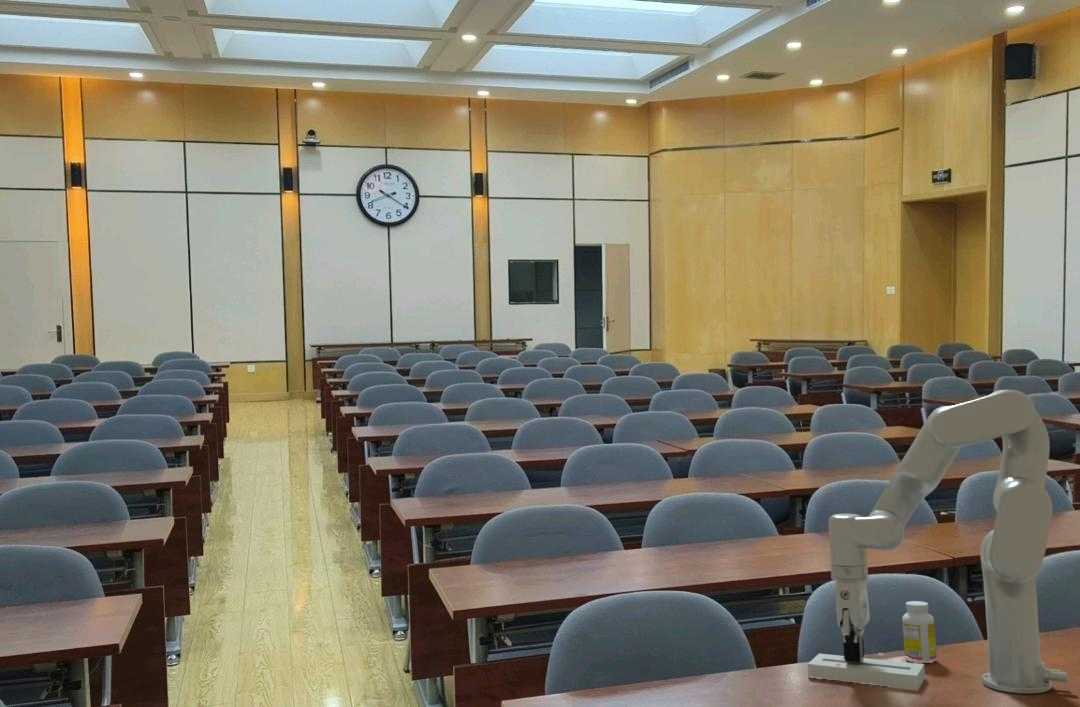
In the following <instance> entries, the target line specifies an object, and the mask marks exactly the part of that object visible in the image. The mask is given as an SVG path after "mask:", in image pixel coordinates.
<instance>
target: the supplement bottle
mask: <svg viewBox="0 0 1080 707" xmlns="http://www.w3.org/2000/svg"><path fill="white" fill-rule="evenodd" d="M905 609H906V610H907V611H906V612H905V613H904V614H903V616H902V620H901V621H902V632H903V634H902V635H903V647H904V649H903V650H904V656H905V655H906V656H908V657H910V658H912V659H917V660H926V661H928V660H934V659H936V658H937V656H938V654H937V645H936V644H937V642H936V641H937V640H936V630H935V619H934V617H933V615H931V614H930V613H929V611H928V610H929V603H928V602H926V601H920V600H919V601H918V600H911V601H907V602H905ZM937 659H938V658H937Z"/></svg>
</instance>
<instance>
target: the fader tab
mask: <svg viewBox="0 0 1080 707" xmlns="http://www.w3.org/2000/svg"><path fill="white" fill-rule="evenodd" d="M850 627H854V626H850ZM840 629H841V630H840V631H841V635H843V633H842V631H843V627H842V628H840ZM851 632H853V634H854V631H851ZM857 634H858V643H859V644H860V662H850V661H846V663H855V664H861V663H862V662H863V661H864V659H863V658H864V657H863V642H862V634H863V635H864V634H865V626H864V627H863V628H862V629H861V630H859V629H858V628H857Z"/></svg>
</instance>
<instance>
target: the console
mask: <svg viewBox="0 0 1080 707" xmlns="http://www.w3.org/2000/svg"><path fill="white" fill-rule="evenodd" d="M863 659H864V661H863V662H862V663H861V664H855V663H846V661H845V659H844V655H839V654H838V655H837V654H828V653H818V654H817V655H815V657H814V658H812V659H811V660H810V661H809V662H808V663H807V671H808V677H809V676H813V677H821V678H829V679H838V680H845V681H855V682H864V683H872V684H878V685H884V686H890V687H894V688H893V689H899V690H906V691H907V690H909V691H914V692H915V691H917V692H918V691H919V690H920V688H921V686H922V685H923V683H924V681H925V680H924V678H925V679H926V674H925V673H926V672H925V671H926V670H925V664H917V663H911V662H908V661H907V662H905V661H896V660H895V661H894V660H886V659H885V660H884V659H878V658H877V659H876V658H866V657H863ZM923 680H924V681H923ZM921 684H922V685H921Z"/></svg>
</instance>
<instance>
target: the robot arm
mask: <svg viewBox="0 0 1080 707" xmlns="http://www.w3.org/2000/svg"><path fill="white" fill-rule="evenodd" d="M998 438H1001V440H1002V453H1001V459H1000V466H999V469H998V476H997V480H996V484H995V487H994V488H995V489H994V493H993V495H992V496H993V497H992V503H993V507H994V509H995V511H996V516H995V522H994V527H993V529H992V530H990V531H989V532H988V533H987V534H986V535H985V536H984V537H983V538H982V541H981V544H980V549H979V552H980V563H981V572H982V580H983V589H984V604H985V619H986V633H987V635H986V636H987V646H988V648H987V649H988V650H987V651H988V662H989V671H988V672H986V673H984V674H983V675H982V676H981V682H982V683H983V685H984V686H986V687H988V688H991V689H992V690H993V689H994V690H996V691H1001V692H1006V693H1013V694H1021V695H1022V694H1023V695H1025V694H1026V695H1032V694H1034V695H1035V694H1043V693H1046V692H1048V691H1050V690H1051V689H1052V681H1053V682H1057V683H1058V682H1059V683H1068V682H1069V680H1068V678H1069V677H1068V672H1064V671H1062V670H1060V669H1049V668H1048V667H1047V666H1045V662H1044V661H1043V660H1042V659H1041V658H1042V657H1041V655H1042V654H1041V644H1040V643H1041V642H1040V641H1041V640H1040V629H1039V628H1040V627H1039V613H1038V598H1037V586H1036V580H1035V577H1036V576H1037V575H1038V574H1039V572H1040V571H1041V568H1042V567H1043V563H1044V559H1045V554H1046V549H1047V544H1048V539H1049V535H1050V534H1049V532H1050V529H1051V524H1052V518H1053V503H1052V499H1051V496H1050V494H1049V492H1048V491H1047V490H1046V489H1045V485H1046V481H1047V480H1046V479H1047V473H1048V465H1049V458H1050V450H1051V449H1050V448H1051V446H1050V443H1051V442H1050V437H1049V433H1048V429H1047V427H1046V425H1045V423H1044V421H1043V419H1042V418H1041V416H1040V414H1039V413H1038V412H1037V411H1036V407H1035V404H1034V402H1033V400H1032V399H1031V397H1029V396H1028V395H1027V394H1026V393H1024V392H1023V391H1019V390H1016V389H999V390H996V391H993V392H992V393H990V394H988V395H986V396H983V397H979V398H976V399H974V400H973V399H972V400H970V401H965V402H962V403H959V404H955V405H954V404H953V405H943V406H940V407H937V408H935V409H934V410H933V411H932V412H930V414H929V416H927V419H926V420H925V422H924V424H923V425H922V427H921V428H920V430H919V432H918V433H917V435H916V437H915V439H914V440H913V442H912V443H911V445H910V447H909V449H908V450H907V451H906V453H905V455H904V457H903V459H902V460H901V461H900V464H899V465H898V466H897V467H896V470H895V472H894V474H893V475H892V477H891V479H890V480H889V483H888V484H887V485H886V487H885V488H884V491H883V492H882V493H881V495H880V497H879V499H878V500H877V502H876V503H875V505H874V506H873V508H872V510H871V512H870V513H869V515H868V516H864V517H863V516H862V515H860V514H856V513H837V514H835V513H834V514H832V515H830V517H829V519H828V535H829V536H828V538H829V554H830V559H829V560H830V574H831V575H830V577H831V580H832V581H836V582H835V601H836V603H835V604H836V606H835V608H836V620H837V621H836V622H837V626H838V627H839V628H840V629H842V628H843V631H842V633H843V634H842V633H841V634H842V637H843V638H842V641H843V642H842V643H843V656H844V659H845V661H850V662H860V644H859V643H858V634H857V628H858V629H859V630H861V629H862V628H863V627H864V628H865V626H866V625H867V624H868V623H869V622H870V621H871V616H870V607H869V606H870V605H869V604H870V603H869V596H868V589H867V588H868V586H867V582H866V581H869V570H868V569H869V567H868V555H867V553H868V552H867V549H868V550H874V551H881V552H888V551H889V552H890V551H893V550H896V549H897V548H900V546H901V545H902V543H903V542H904V539H905V530H904V528H905V526H906V525H907V524H908V522H909V520H910V518H911V517H912V516H913V514H914V512H915V511H916V509H917V507H918V506H919V505H920V503H921V502H922V501H923V500H924V499H925V498H926V497H927V496H928V495H929V494H930V493H932V492H933V491H934V490H935V489H936V488H937V487H938V485H939V484H940V483H941V481H942V480H943V478H944V476H945V474H946V473H947V471H948V470H949V468H950V467H951V465H952V463H953V461H954V459H955V457H956V456H957V455H958V453H959V451H960V449H961V448H962V447H966V446H972V445H976V444H980V443H983V442H987V441H990V440H994V439H998ZM850 626H854V627H850ZM851 631H854V634H853V632H851ZM863 637H864V633H863V634H862V642H863V658H865V647H864V646H865V645H864V638H863Z"/></svg>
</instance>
